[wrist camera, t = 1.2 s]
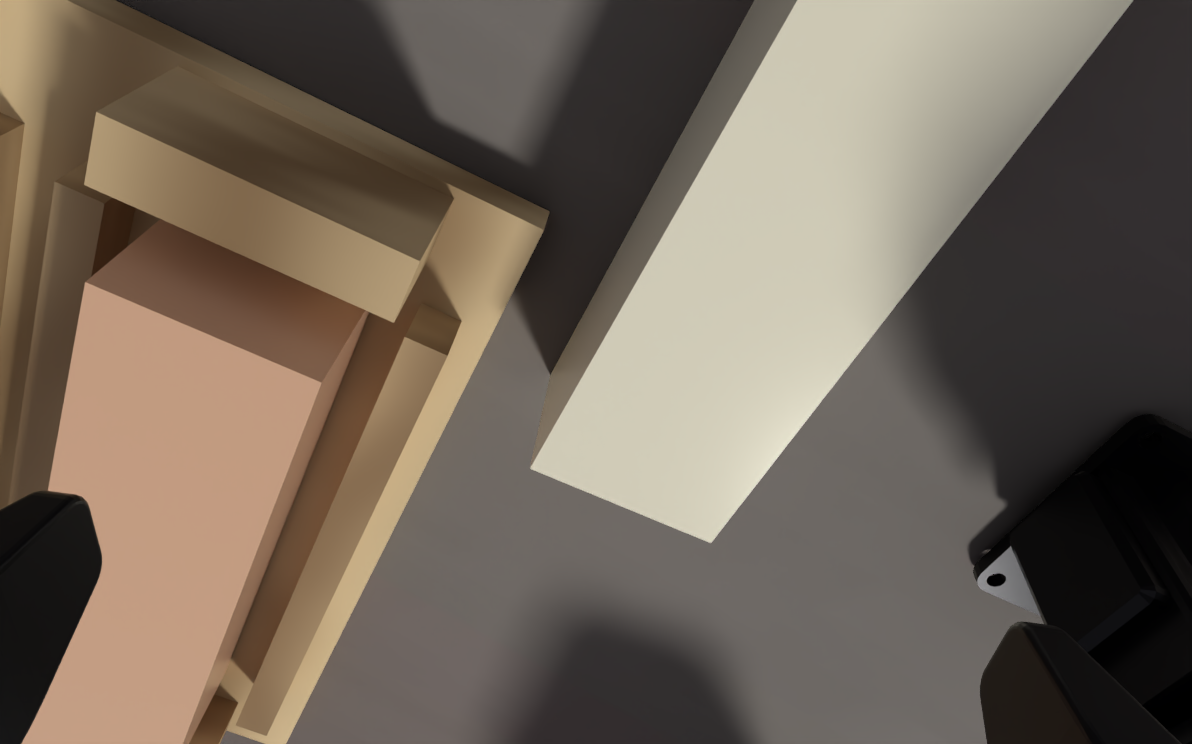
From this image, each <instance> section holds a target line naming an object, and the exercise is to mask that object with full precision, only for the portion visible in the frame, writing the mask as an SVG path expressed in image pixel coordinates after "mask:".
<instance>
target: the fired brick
mask: <svg viewBox="0 0 1192 744" xmlns="http://www.w3.org/2000/svg"><path fill="white" fill-rule="evenodd" d="M368 315H369V312H368V311H366V310H364V309H362V308H359V307H357V306H355V305H353V304H350V303H348V302H346V301H344V300H341V299H339V298H337V297H335V296H332V295H330V294H328V293H326V292H323V291H321V290H319V289H317V288H314V287H312V286H310V285H308V284H305V283H303V282H301V281H299V280H296V279H294V278H292V277H290V276H287V275H285V274H283V273H281V272H278V271H276V270H274V269H272V268H270V267H267V266H265V265H263V264H261V263H258V262H256V261H254V260H252V259H249V258H247V257H245V256H243V255H240V254H238V253H236V252H234V251H231V250H229V249H227V248H225V247H222V246H220V245H218V244H216V243H213V242H211V241H209V240H207V239H204V238H202V237H200V236H198V235H195V234H193V233H191V232H189V231H186V230H184V229H182V228H180V227H178V226H175V225H173V224H171V223H169V222H166V221H164V220H162V219H160V220H159V221H158V222H156V223H155V224H154V225H153V226H152V227H150V228H149V229H148V230H147V231H146V232H144V233H143V234H142V235H141V236H140V237H138V238H137V239H136V240H135V241H134V242H132V243H131V244H130V245H129V246H128V247H126V248H125V249H124V250H123V251H122V252H120V253H119V254H118V255H117V256H116V257H114V258H113V259H112V260H111V261H110V262H109V263H107V264H106V265H105V266H104V267H103V268H101V269H100V270H99V271H98V272H97V273H95V274H94V275H93V276H92V277H91V278H89V279H88V280H87V281H86V282H85V285H84V291H83V297H82V302H81V308H80V313H79V319H78V325H77V330H76V336H75V341H74V347H73V353H72V358H71V364H70V369H69V375H68V381H67V386H66V392H65V397H64V403H63V409H62V414H61V420H60V425H59V431H58V437H57V442H56V448H55V453H54V459H53V465H52V470H51V476H50V481H49V487H48V491H54V492H61V493H68V494H76V495H79V496H82V497H83V498H84V499H85V500H86V501H87V502H88V505H89V508H90V511H91V515H92V519H93V522H94V526H95V530H96V534H97V537H98V541H99V545H100V549H101V552H102V568H101V573H100V576H99V579H98V582H97V584H96V586H95V588H94V591H93V593H92V595H91V597H90V599H89V602H88V604H87V606H86V608H85V610H84V613H83V615H82V617H81V619H80V621H79V624H78V626H77V628H76V630H75V632H74V635H73V637H72V639H71V641H70V644H69V646H68V648H67V650H66V652H65V655H64V657H63V659H62V661H61V663H60V666H59V668H58V670H57V672H56V674H55V677H54V679H53V681H52V683H51V685H50V688H49V690H48V692H47V694H46V696H45V699H44V701H43V703H42V705H41V707H40V709H39V711H38V713H37V715H36V717H35V719H34V721H33V723H32V725H31V727H30V729H29V731H28V733H27V734H26V736H25V738H24V740H23V742H22V743H21V744H189V743H190V741H191V739H192V737H193V735H194V733H195V731H196V729H197V727H198V725H199V723H200V721H201V719H202V717H203V715H204V713H205V711H206V709H207V707H208V705H209V704H210V702H211V700H212V698H213V696H214V694H215V692H216V690H217V688H218V686H219V684H220V682H221V680H222V678H223V676H224V674H225V672H226V669H227V667H228V664H229V662H230V659H231V657H232V654H233V652H234V649H235V647H236V644H237V642H238V639H239V637H240V634H241V632H242V629H243V627H244V624H245V622H246V619H247V617H248V614H249V612H250V609H251V607H252V605H253V602H254V600H255V597H256V595H257V592H258V590H259V587H260V585H261V582H262V580H263V577H264V575H265V572H266V570H267V567H268V565H269V562H270V560H271V557H272V555H273V552H274V550H275V547H276V545H277V542H278V540H279V537H280V535H281V532H282V530H283V527H284V525H285V522H286V520H287V517H288V515H289V512H290V510H291V507H292V505H293V502H294V500H295V497H296V495H297V492H298V490H299V487H300V485H301V482H302V480H303V477H304V475H305V472H306V470H307V467H308V465H309V462H310V460H311V457H312V455H313V452H314V450H315V447H316V445H317V442H318V440H319V437H320V435H321V432H322V430H323V427H324V425H325V422H326V420H327V417H328V415H329V412H330V410H331V407H332V405H333V402H334V400H335V397H336V395H337V392H338V390H339V387H340V385H341V382H342V380H343V377H344V375H345V372H346V370H347V367H348V365H349V362H350V360H351V357H352V355H353V352H354V350H355V347H356V345H357V342H358V340H359V337H360V335H361V332H362V330H363V327H364V325H365V322H366V320H367V317H368Z"/></svg>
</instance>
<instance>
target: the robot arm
mask: <svg viewBox="0 0 1192 744" xmlns="http://www.w3.org/2000/svg"><path fill="white" fill-rule="evenodd" d="M1152 432H1153V434H1152V435H1151V436H1149V437H1147V438H1144V439H1141V437H1142V436H1144V435H1145V434H1147V433H1152ZM101 568H102V552H101V549H100V545H99V541H98V537H97V534H96V530H95V526H94V522H93V519H92V515H91V511H90V508H89V505H88V502H87V501H86V500H85V499H84V498H83V497H82V496H79V495H76V494H68V493H61V492H54V491H45V490H43V491H36V492H33V493H31V494H28V495H26V496H24V497H22V498H21V499H19V500H17V501H15V502H13V503H11V504H9V505H7V506H6V507H4V508H2V509H0V744H21V743H22V742H23V740H24V738H25V736H26V734H27V733H28V731H29V729H30V727H31V725H32V723H33V721H34V719H35V717H36V715H37V713H38V711H39V709H40V707H41V705H42V703H43V701H44V699H45V696H46V694H47V692H48V690H49V688H50V685H51V683H52V681H53V679H54V677H55V674H56V672H57V670H58V668H59V666H60V663H61V661H62V659H63V657H64V655H65V652H66V650H67V648H68V646H69V644H70V641H71V639H72V637H73V635H74V632H75V630H76V628H77V626H78V624H79V621H80V619H81V617H82V615H83V613H84V610H85V608H86V606H87V604H88V602H89V599H90V597H91V595H92V593H93V591H94V588H95V586H96V584H97V582H98V579H99V576H100V573H101ZM973 573H974V576H975V579H976V581H977V584H978V586H979V588H980V589H982V590H983V591H985V592H987V593H990V594H992V595H994V596H996V597H999V598H1001V599H1003V600H1005V601H1008V602H1010V603H1012V604H1014V605H1017V606H1019V607H1021V608H1023V609H1026V610H1028V611H1030V612H1032V613H1035V614H1037V615H1039V616H1041V618H1042V620H1043V622H1044V624H1037V623H1030V622H1017V623H1015V624H1014V625H1012V626H1011V627H1010V628H1009V629H1008V631H1007V632H1006V634H1005V636H1004V638H1003V639H1002V641H1001V643H1000V644H999V646H998V648H997V650H996V651H995V653H994V655H993V656H992V658H991V660H990V661H989V663H988V665H987V667H986V668H985V670H984V673H983V675H982V679H981V685H980V698H981V705H982V712H983V719H984V725H985V732H986V739H987V744H1192V433H1191V432H1189V431H1187V430H1185V429H1183V428H1181V427H1179V426H1177V425H1175V424H1173V423H1171V422H1169V421H1167V420H1166V419H1164V418H1162V417H1160V416H1156V415H1153V414H1147V415H1141V416H1138V417H1135V418H1133V419H1132V420H1130V421H1129V422H1127V423H1126V424H1125V425H1124V426H1123V427H1122V428H1121V429H1120V430H1119V431H1118V432H1117V433H1116V434H1115V435H1114V436H1112V437H1111V438H1110V439H1109V440H1108V441H1107V442H1106V443H1105V444H1104V445H1103V446H1102V447H1101V448H1100V449H1099V450H1097V451H1096V452H1095V453H1094V454H1093V455H1092V456H1091V457H1090V458H1089V459H1088V460H1087V461H1086V462H1085V463H1084V464H1082V465H1081V466H1080V467H1079V468H1078V469H1077V470H1076V471H1075V472H1074V473H1073V474H1072V475H1071V476H1070V477H1069V478H1067V479H1066V480H1065V481H1064V482H1063V483H1062V484H1061V485H1060V486H1059V487H1058V488H1057V489H1056V490H1055V491H1054V492H1052V493H1051V494H1050V495H1049V496H1048V497H1047V498H1046V499H1045V500H1044V501H1043V502H1042V503H1041V504H1040V505H1039V506H1037V507H1036V508H1035V509H1034V510H1033V511H1032V512H1031V513H1030V514H1029V515H1028V516H1027V517H1026V518H1025V519H1024V520H1022V521H1021V522H1020V523H1019V524H1018V525H1017V526H1016V527H1015V528H1014V529H1013V530H1012V531H1011V532H1010V533H1009V534H1007V535H1006V536H1005V537H1004V538H1003V539H1002V540H1001V541H1000V542H999V543H998V544H997V545H996V546H995V547H994V548H992V549H991V550H990V551H989V552H988V553H987V554H986V555H985V556H984V557H983V558H982V559H981V560H980V561H979V562H977V564H976V565H975V567H974V570H973ZM996 573H998V574H997V575H993V576H990V575H992V574H996Z"/></svg>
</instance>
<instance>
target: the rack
mask: <svg viewBox="0 0 1192 744" xmlns="http://www.w3.org/2000/svg"><path fill="white" fill-rule="evenodd" d="M549 212H550V211H548V210H546V209H544V208H541V207H539V206H537V205H535V204H533V203H531V202H529V201H527V200H525V199H523V198H521V197H519V196H517V195H515V194H513V193H511V192H509V191H507V190H504V189H502V188H500V187H498V186H496V185H494V184H492V183H490V182H488V181H486V180H484V179H482V178H480V177H478V176H476V175H474V174H472V173H470V172H467V171H465V170H463V169H461V168H459V167H457V166H455V165H453V164H451V163H449V162H447V161H445V160H443V159H441V158H439V157H437V156H435V155H433V154H431V153H428V152H426V151H424V150H422V149H420V148H418V147H416V146H414V145H412V144H410V143H408V142H406V141H404V140H402V139H400V138H398V137H396V136H394V135H391V134H389V133H387V132H385V131H383V130H381V129H379V128H377V127H375V126H373V125H371V124H369V123H367V122H365V121H363V120H361V119H359V118H357V117H354V116H352V115H350V114H348V113H346V112H344V111H342V110H340V109H338V108H336V107H334V106H332V105H330V104H328V103H326V102H324V101H322V100H320V99H317V98H315V97H313V96H311V95H309V94H307V93H305V92H303V91H301V90H299V89H297V88H295V87H293V86H291V85H289V84H287V83H285V82H283V81H281V80H278V79H276V78H274V77H272V76H270V75H268V74H266V73H264V72H262V71H260V70H258V69H256V68H254V67H252V66H250V65H248V64H246V63H244V62H241V61H239V60H237V59H235V58H233V57H231V56H229V55H227V54H225V53H223V52H221V51H219V50H217V49H215V48H213V47H211V46H209V45H207V44H204V43H202V42H200V41H198V40H196V39H194V38H192V37H190V36H188V35H186V34H184V33H182V32H180V31H178V30H176V29H174V28H172V27H170V26H168V25H165V24H163V23H161V22H159V21H157V20H155V19H153V18H151V17H149V16H147V15H145V14H143V13H141V12H139V11H137V10H135V9H133V8H131V7H128V6H126V5H124V4H122V3H120V2H118V1H116V0H0V509H2V508H4V507H6V506H7V505H9V504H11V503H13V502H15V501H17V500H19V499H21V498H22V497H24V496H26V495H28V494H31V493H33V492H36V491H43V490H45V491H48V487H49V481H50V476H51V470H52V465H53V459H54V453H55V448H56V442H57V437H58V431H59V425H60V420H61V414H62V409H63V403H64V397H65V392H66V386H67V381H68V375H69V369H70V364H71V358H72V353H73V347H74V341H75V336H76V330H77V325H78V319H79V313H80V308H81V302H82V297H83V291H84V285H85V282H86V281H87V280H88V279H89V278H91V277H92V276H93V275H94V274H95V273H97V272H98V271H99V270H100V269H101V268H103V267H104V266H105V265H106V264H107V263H109V262H110V261H111V260H112V259H113V258H114V257H116V256H117V255H118V254H119V253H120V252H122V251H123V250H124V249H125V248H126V247H128V246H129V245H130V244H131V243H132V242H134V241H135V240H136V239H137V238H138V237H140V236H141V235H142V234H143V233H144V232H146V231H147V230H148V229H149V228H150V227H152V226H153V225H154V224H155V223H156V222H158V221H159V220H160V219H162V220H164V221H166V222H169V223H171V224H173V225H175V226H178V227H180V228H182V229H184V230H186V231H189V232H191V233H193V234H195V235H198V236H200V237H202V238H204V239H207V240H209V241H211V242H213V243H216V244H218V245H220V246H222V247H225V248H227V249H229V250H231V251H234V252H236V253H238V254H240V255H243V256H245V257H247V258H249V259H252V260H254V261H256V262H258V263H261V264H263V265H265V266H267V267H270V268H272V269H274V270H276V271H278V272H281V273H283V274H285V275H287V276H290V277H292V278H294V279H296V280H299V281H301V282H303V283H305V284H308V285H310V286H312V287H314V288H317V289H319V290H321V291H323V292H326V293H328V294H330V295H332V296H335V297H337V298H339V299H341V300H344V301H346V302H348V303H350V304H353V305H355V306H357V307H359V308H362V309H364V310H366V311H368V312H369V315H368V317H367V320H366V322H365V325H364V327H363V330H362V332H361V335H360V337H359V340H358V342H357V345H356V347H355V350H354V352H353V355H352V357H351V360H350V362H349V365H348V367H347V370H346V372H345V375H344V377H343V380H342V382H341V385H340V387H339V390H338V392H337V395H336V397H335V400H334V402H333V405H332V407H331V410H330V412H329V415H328V417H327V420H326V422H325V425H324V427H323V430H322V432H321V435H320V437H319V440H318V442H317V445H316V447H315V450H314V452H313V455H312V457H311V460H310V462H309V465H308V467H307V470H306V472H305V475H304V477H303V480H302V482H301V485H300V487H299V490H298V492H297V495H296V497H295V500H294V502H293V505H292V507H291V510H290V512H289V515H288V517H287V520H286V522H285V525H284V527H283V530H282V532H281V535H280V537H279V540H278V542H277V545H276V547H275V550H274V552H273V555H272V557H271V560H270V562H269V565H268V567H267V570H266V572H265V575H264V577H263V580H262V582H261V585H260V587H259V590H258V592H257V595H256V597H255V600H254V602H253V605H252V607H251V609H250V612H249V614H248V617H247V619H246V622H245V624H244V627H243V629H242V632H241V634H240V637H239V639H238V642H237V644H236V647H235V649H234V652H233V654H232V657H231V659H230V662H229V664H228V667H227V669H226V672H225V674H224V676H223V678H222V680H221V682H220V684H219V686H218V688H217V690H216V692H215V694H214V696H213V698H212V700H211V702H210V704H209V705H208V707H207V709H206V711H205V713H204V715H203V717H202V719H201V721H200V723H199V725H198V727H197V729H196V731H195V733H194V735H193V737H192V739H191V741H190V743H189V744H220V742H221V740H222V738H223V736H224V734H225V732H226V730H227V731H230V732H233V733H236V734H239V735H242V736H244V737H247V738H250V739H253V740H256V741H259V742H262V743H265V744H286V743H287V741H288V739H289V737H290V735H291V733H292V731H293V729H294V727H295V725H296V723H297V721H298V719H299V717H300V715H301V713H302V711H303V709H304V707H305V705H306V703H307V701H308V699H309V697H310V695H311V693H312V691H313V689H314V687H315V685H316V683H317V681H318V679H319V677H320V675H321V673H322V671H323V669H324V667H325V665H326V663H327V661H328V659H329V657H330V655H331V653H332V651H333V649H334V647H335V645H336V643H337V641H338V639H339V637H340V635H341V633H342V631H343V629H344V627H345V625H346V623H347V621H348V619H349V617H350V615H351V613H352V611H353V609H354V607H355V605H356V603H357V601H358V599H359V597H360V595H361V593H362V591H363V589H364V587H365V585H366V583H367V581H368V579H369V577H370V575H371V573H372V571H373V569H374V567H375V565H376V563H377V561H378V559H379V557H380V556H381V554H382V552H383V550H384V548H385V546H386V544H387V542H388V540H389V538H390V536H391V534H392V532H393V530H394V528H395V526H396V524H397V522H398V520H399V518H400V516H401V514H402V512H403V510H404V508H405V506H406V504H407V502H408V500H409V498H410V496H411V494H412V492H413V490H414V488H415V486H416V484H417V482H418V480H419V478H420V476H421V474H422V472H423V470H424V468H425V466H426V464H427V462H428V460H429V458H430V456H431V454H432V452H433V450H434V448H435V446H436V444H437V442H438V440H439V438H440V436H441V434H442V432H443V430H444V428H445V426H446V424H447V422H448V420H449V418H450V416H451V414H452V412H453V410H454V408H455V406H456V404H457V402H458V400H459V398H460V396H461V394H462V392H463V390H464V388H465V386H466V384H467V382H468V380H469V378H470V376H471V374H472V372H473V370H474V368H475V366H476V364H477V363H478V361H479V359H480V357H481V355H482V353H483V351H484V349H485V347H486V345H487V343H488V341H489V339H490V337H491V335H492V333H493V331H494V329H495V327H496V325H497V323H498V321H499V319H500V317H501V315H502V313H503V311H504V309H505V307H506V305H507V303H508V301H509V299H510V297H511V295H512V293H513V291H514V289H515V287H516V285H517V283H518V281H519V279H520V277H521V275H522V273H523V271H524V269H525V267H526V265H527V263H528V261H529V259H530V257H531V255H532V253H533V251H534V249H535V247H536V245H537V243H538V241H539V239H540V237H541V235H542V233H543V231H544V229H545V225H546V222H547V219H548V216H549Z"/></svg>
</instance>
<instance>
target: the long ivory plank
mask: <svg viewBox="0 0 1192 744" xmlns="http://www.w3.org/2000/svg"><path fill="white" fill-rule="evenodd" d="M1132 2H1133V0H754V2H753V4H752V6H751V7H750V9H749V11H748V13H747V15H746V17H745V18H744V20H743V22H742V24H741V26H740V28H739V29H738V31H737V33H736V35H735V37H734V39H733V40H732V42H731V44H730V46H729V48H728V50H727V51H726V53H725V55H724V57H723V59H722V61H721V62H720V64H719V66H718V68H717V70H716V72H715V73H714V75H713V77H712V79H711V81H710V83H709V84H708V86H707V88H706V90H705V92H704V94H703V96H702V97H701V99H700V101H699V103H698V105H697V107H696V108H695V110H694V112H693V114H692V116H691V118H690V119H689V121H688V123H687V125H686V127H685V129H684V130H683V132H682V134H681V136H680V138H679V140H678V141H677V143H676V145H675V147H674V149H673V151H672V152H671V154H670V156H669V158H668V160H667V162H666V163H665V165H664V167H663V169H662V171H661V173H660V174H659V176H658V178H657V180H656V182H655V184H654V186H653V187H652V189H651V191H650V193H649V195H648V197H647V198H646V200H645V202H644V204H643V206H642V208H641V209H640V211H639V213H638V215H637V217H636V219H635V220H634V222H633V224H632V226H631V228H630V230H629V231H628V233H627V235H626V237H625V239H624V241H623V242H622V244H621V246H620V248H619V250H618V252H617V253H616V255H615V257H614V259H613V261H612V263H611V264H610V266H609V268H608V270H607V272H606V274H605V276H604V277H603V279H602V281H601V283H600V285H599V287H598V288H597V290H596V292H595V294H594V296H593V298H592V299H591V301H590V303H589V305H588V307H587V309H586V310H585V312H584V314H583V316H582V318H581V320H580V321H579V323H578V325H577V327H576V329H575V331H574V332H573V334H572V336H571V338H570V340H569V342H568V343H567V345H566V347H565V349H564V351H563V353H562V354H561V356H560V358H559V360H558V362H557V364H556V366H555V367H554V369H553V371H552V373H551V375H550V379H549V383H548V388H547V393H546V397H545V402H544V406H543V411H542V415H541V420H540V425H539V429H538V434H537V438H536V443H535V448H534V452H533V457H532V461H531V466H530V469H532V470H535V471H537V472H540V473H542V474H544V475H547V476H549V477H552V478H554V479H557V480H559V481H561V482H564V483H566V484H569V485H571V486H573V487H576V488H578V489H581V490H583V491H586V492H588V493H590V494H593V495H595V496H598V497H600V498H603V499H605V500H607V501H610V502H612V503H615V504H617V505H620V506H622V507H624V508H627V509H629V510H632V511H634V512H637V513H639V514H641V515H644V516H646V517H649V518H651V519H654V520H656V521H658V522H661V523H663V524H666V525H668V526H671V527H673V528H675V529H678V530H680V531H683V532H685V533H687V534H690V535H692V536H695V537H697V538H700V539H702V540H704V541H707V542H709V543H711V542H712V541H713V540H714V539H715V537H716V536H717V535H718V533H719V532H720V531H721V530H722V528H723V527H724V526H725V524H726V523H727V522H728V521H729V519H730V518H731V517H732V515H733V514H734V513H735V512H736V510H737V509H738V508H739V506H740V505H741V504H742V503H743V501H744V500H745V499H746V497H747V496H748V495H749V494H750V492H751V491H752V490H753V488H754V487H755V486H756V485H757V483H758V482H759V481H760V480H761V478H762V477H763V476H764V474H765V473H766V472H767V471H768V469H769V468H770V467H771V465H772V464H773V463H774V462H775V460H776V459H777V458H778V456H779V455H780V454H781V453H782V451H783V450H784V449H785V447H786V446H787V445H788V444H789V442H790V441H791V440H792V438H793V437H794V436H795V435H796V433H797V432H798V431H799V429H800V428H801V427H802V426H803V424H804V423H805V422H806V420H807V419H808V418H809V417H810V415H811V414H812V413H813V411H814V410H815V409H816V408H817V406H818V405H819V404H820V402H821V401H822V400H823V399H824V397H825V396H826V395H827V393H828V392H829V391H830V390H831V388H832V387H833V386H834V384H835V383H836V382H837V381H838V379H839V378H840V377H841V375H842V374H843V373H844V372H845V370H846V369H847V368H848V366H849V365H850V364H851V363H852V361H853V360H854V359H855V357H856V356H857V355H858V354H859V352H860V351H861V350H862V348H863V347H864V346H865V345H866V343H867V342H868V341H869V339H870V338H871V337H872V336H873V334H874V333H875V332H876V330H877V329H878V328H879V327H880V325H881V324H882V323H883V322H884V320H885V319H886V318H887V316H888V315H889V314H890V313H891V311H892V310H893V309H894V307H895V306H896V305H897V304H898V302H899V301H900V300H901V298H902V297H903V296H904V295H905V293H906V292H907V291H908V289H909V288H910V287H911V286H912V284H913V283H914V282H915V280H916V279H917V278H918V277H919V275H920V274H921V273H922V271H923V270H924V269H925V268H926V266H927V265H928V264H929V262H930V261H931V260H932V259H933V257H934V256H935V255H936V253H937V252H938V251H939V250H940V248H941V247H942V246H943V244H944V243H945V242H946V241H947V239H948V238H949V237H950V235H951V234H952V233H953V232H954V230H955V229H956V228H957V226H958V225H959V224H960V223H961V221H962V220H963V219H964V217H965V216H966V215H967V214H968V212H969V211H970V210H971V208H972V207H973V206H974V205H975V203H976V202H977V201H978V199H979V198H980V197H981V196H982V194H983V193H984V192H985V190H986V189H987V188H988V187H989V185H990V184H991V183H992V181H993V180H994V179H995V178H996V176H997V175H998V174H999V173H1000V171H1001V170H1002V169H1003V167H1004V166H1005V165H1006V164H1007V162H1008V161H1009V160H1010V158H1011V157H1012V156H1013V155H1014V153H1015V152H1016V151H1017V149H1018V148H1019V147H1020V146H1021V144H1022V143H1023V142H1024V140H1025V139H1026V138H1027V137H1028V135H1029V134H1030V133H1031V131H1032V130H1033V129H1034V128H1035V126H1036V125H1037V124H1038V122H1039V121H1040V120H1041V119H1042V117H1043V116H1044V115H1045V113H1046V112H1047V111H1048V110H1049V108H1050V107H1051V106H1052V104H1053V103H1054V102H1055V101H1056V99H1057V98H1058V97H1059V95H1060V94H1061V93H1062V92H1063V90H1064V89H1065V88H1066V86H1067V85H1068V84H1069V83H1070V81H1071V80H1072V79H1073V77H1074V76H1075V75H1076V74H1077V72H1078V71H1079V70H1080V68H1081V67H1082V66H1083V65H1084V63H1085V62H1086V61H1087V59H1088V58H1089V57H1090V56H1091V54H1092V53H1093V52H1094V50H1095V49H1096V48H1097V47H1098V45H1099V44H1100V43H1101V41H1102V40H1103V39H1104V38H1105V36H1106V35H1107V34H1108V32H1109V31H1110V30H1111V29H1112V27H1113V26H1114V25H1115V23H1116V22H1117V21H1118V20H1119V18H1120V17H1121V16H1122V15H1123V13H1124V12H1125V11H1126V9H1127V8H1128V7H1129V6H1130V4H1131V3H1132Z"/></svg>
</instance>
